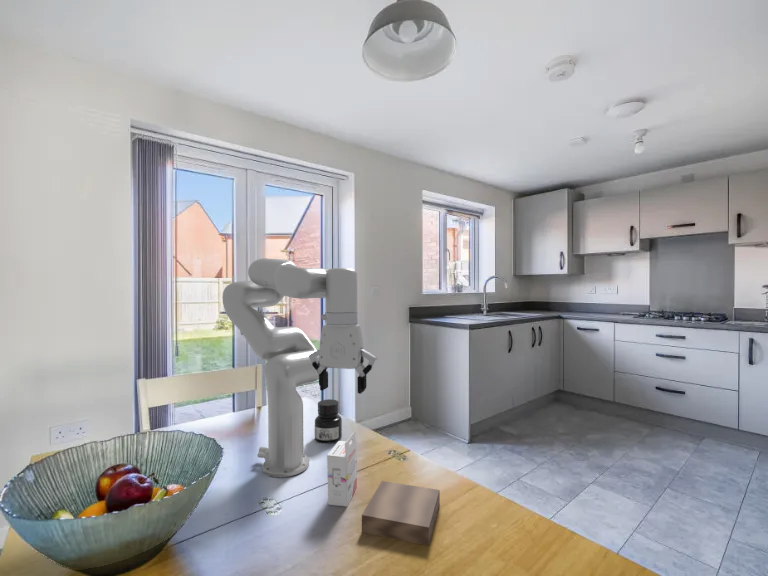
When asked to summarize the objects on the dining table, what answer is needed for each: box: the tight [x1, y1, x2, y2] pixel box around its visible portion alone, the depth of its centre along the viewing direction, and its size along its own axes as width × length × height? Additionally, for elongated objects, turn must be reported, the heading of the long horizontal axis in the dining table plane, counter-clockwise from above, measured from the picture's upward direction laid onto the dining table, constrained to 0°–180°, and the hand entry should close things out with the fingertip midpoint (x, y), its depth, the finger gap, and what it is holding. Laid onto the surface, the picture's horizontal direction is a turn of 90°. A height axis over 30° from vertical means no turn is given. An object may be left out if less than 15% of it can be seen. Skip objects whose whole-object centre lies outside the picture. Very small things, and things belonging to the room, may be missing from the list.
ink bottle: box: [314, 399, 343, 444], centre depth 124 cm, size 10×9×12 cm
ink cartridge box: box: [326, 430, 358, 507], centre depth 90 cm, size 9×5×15 cm, turn 168°
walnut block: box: [361, 480, 441, 546], centre depth 82 cm, size 14×14×4 cm
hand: (342, 390), depth 90 cm, fingers open, 9 cm apart
